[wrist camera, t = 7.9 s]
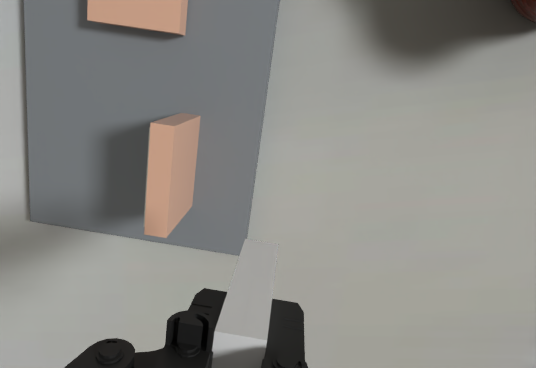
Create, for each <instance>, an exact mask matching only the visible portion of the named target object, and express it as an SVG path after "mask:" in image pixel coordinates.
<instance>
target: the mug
mask: <svg viewBox="0 0 536 368" xmlns="http://www.w3.org/2000/svg"><path fill="white" fill-rule="evenodd" d="M511 2H512V4H513V5H514V7H515V8H516V10H517V11H518V12H519V13H520V14H521V15H522V16H524V17H525V18H527V19H529V20H531V21H533V22H536V0H511Z"/></svg>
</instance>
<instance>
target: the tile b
mask: <svg viewBox="0 0 536 368" xmlns="http://www.w3.org/2000/svg"><path fill="white" fill-rule="evenodd" d="M199 127H200V116H199V115H193V114H186V113H179V114H176V115H173V116H170V117H167V118H164V119H160V120H157V121H154V122H151V124H150V127H149V140H148V158H147V175H146V193H145V210H144V227H145V228H144V235H150V236H157V237H163V238H167V236H168V235H169V234H170V233H171V232H172V230H173V229H174V228H175V227H176V225H177V224H178V223H179V222H180V220H181V219H182V218H183V217H184V216H185V214H186V213H187V212H188V211H189V209H190V208H191V207H192V202H193V192H194V181H195V170H196V159H197V149H198V138H199Z"/></svg>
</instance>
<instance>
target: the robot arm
mask: <svg viewBox="0 0 536 368" xmlns="http://www.w3.org/2000/svg"><path fill="white" fill-rule="evenodd" d="M278 245H279V244H275V243H269V242H263V241H257V240H251V239H245V241H244V244H243V247H242V250H241V253H240V256H239V259H238V262H237V265H236V268H235V271H234V274H233V277H232V280H231V283H230V286H229V289H228V292H223V291H217V290H211V289H206V288H204V289H203V290H201V291H200V292H199V293H197V294H196V295H195V297H194V299H193V301H192V303H191V305H190V307H189V309H188V310H187V311H181V312H178V313H176V314H174V315H172V316H171V317H170V318H169V319H168V320H167V331H166V343H165V346H164V348H162V349H159V350H156V351H150V352H138V353H135V349H134V347H133V345H132V344H131V343H129V342H128V341H126V340H122V339H117V338H115V339H105V340H102V341H99V342H97V343H95V344H93V345H92V346H90V347H89V348H87V349H86V350H85V351H84V352H83V353H81V354H80V355H79V356H78V357H77V358H75V359H74V360H73V361H72V362H71V363H69V364H68V365H67V366H66V367H65V368H308V366H307V363H306V362H305V351H304V312H303V310H302V309H301V307H300V306H299V304H298V303H294V302H288V301H282V300H276V299H272V296H273V287H274V279H275V271H276V262H277V254H278Z"/></svg>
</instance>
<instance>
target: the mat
mask: <svg viewBox="0 0 536 368" xmlns="http://www.w3.org/2000/svg"><path fill="white" fill-rule="evenodd" d="M279 2H280V0H188V7H187V20H186V33H185V36H184V35H177V34H170V33H163V32H157V31H150V30H143V29H136V28H129V27H122V26H116V25H109V24H102V23H96V22H92V21H89V20H87V6H88V0H24V27H25V60H26V94H27V127H28V160H29V193H30V221H32V222H38V223H44V224H50V225H57V226H63V227H69V228H75V229H81V230H87V231H93V232H99V233H105V234H111V235H117V236H123V237H129V238H135V239H141V240H147V241H153V242H159V243H165V244H171V245H177V246H183V247H190V248H196V249H202V250H208V251H214V252H220V253H226V254H232V255H238V256H240V253H241V250H242V247H243V244H244V241H245V239H247V234H248V227H249V220H250V212H251V205H252V198H253V191H254V183H255V176H256V169H257V162H258V154H259V147H260V140H261V133H262V125H263V118H264V111H265V104H266V96H267V89H268V82H269V75H270V67H271V60H272V53H273V46H274V38H275V31H276V24H277V17H278V10H279ZM179 113H186V114H193V115H199V116H200V127H199V138H198V149H197V159H196V170H195V181H194V192H193V202H192V207H191V208H190V209H189V211H188V212H187V213H186V214H185V216H184V217H183V218H182V219H181V220H180V222H179V223H178V224H177V225H176V227H175V228H174V229H173V230H172V232H171V233H170V234H169V235H168V236H167V238H163V237H157V236H150V235H144V228H145V227H144V210H145V193H146V175H147V158H148V140H149V127H150V124H151V122H154V121H157V120H160V119H164V118H167V117H170V116H173V115H176V114H179Z"/></svg>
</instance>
